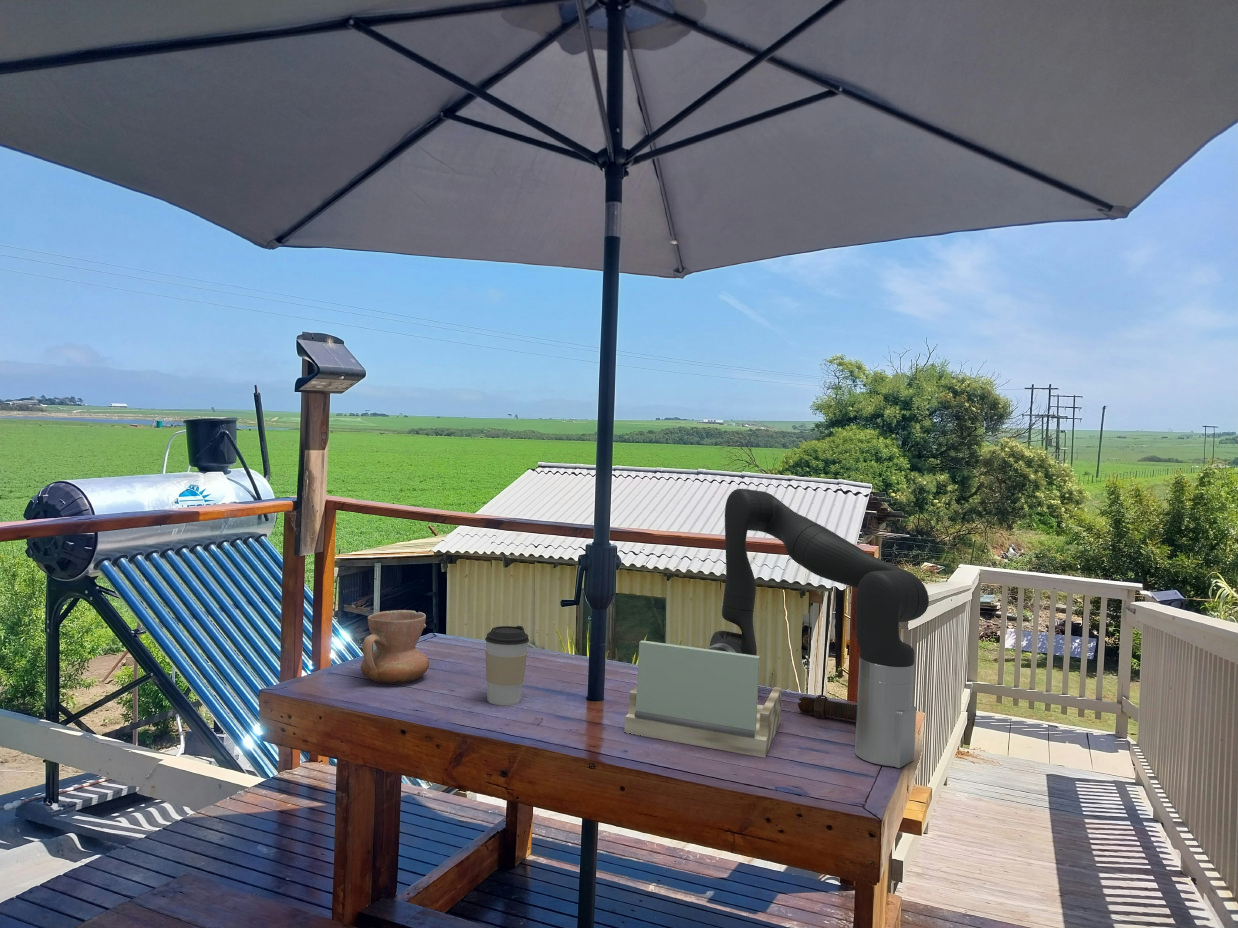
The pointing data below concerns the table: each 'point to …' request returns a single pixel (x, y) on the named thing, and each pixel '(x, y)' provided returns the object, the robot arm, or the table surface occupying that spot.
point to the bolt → (827, 708)
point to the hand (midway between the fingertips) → (697, 686)
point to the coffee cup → (505, 664)
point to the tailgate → (698, 688)
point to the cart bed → (711, 739)
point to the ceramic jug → (394, 647)
